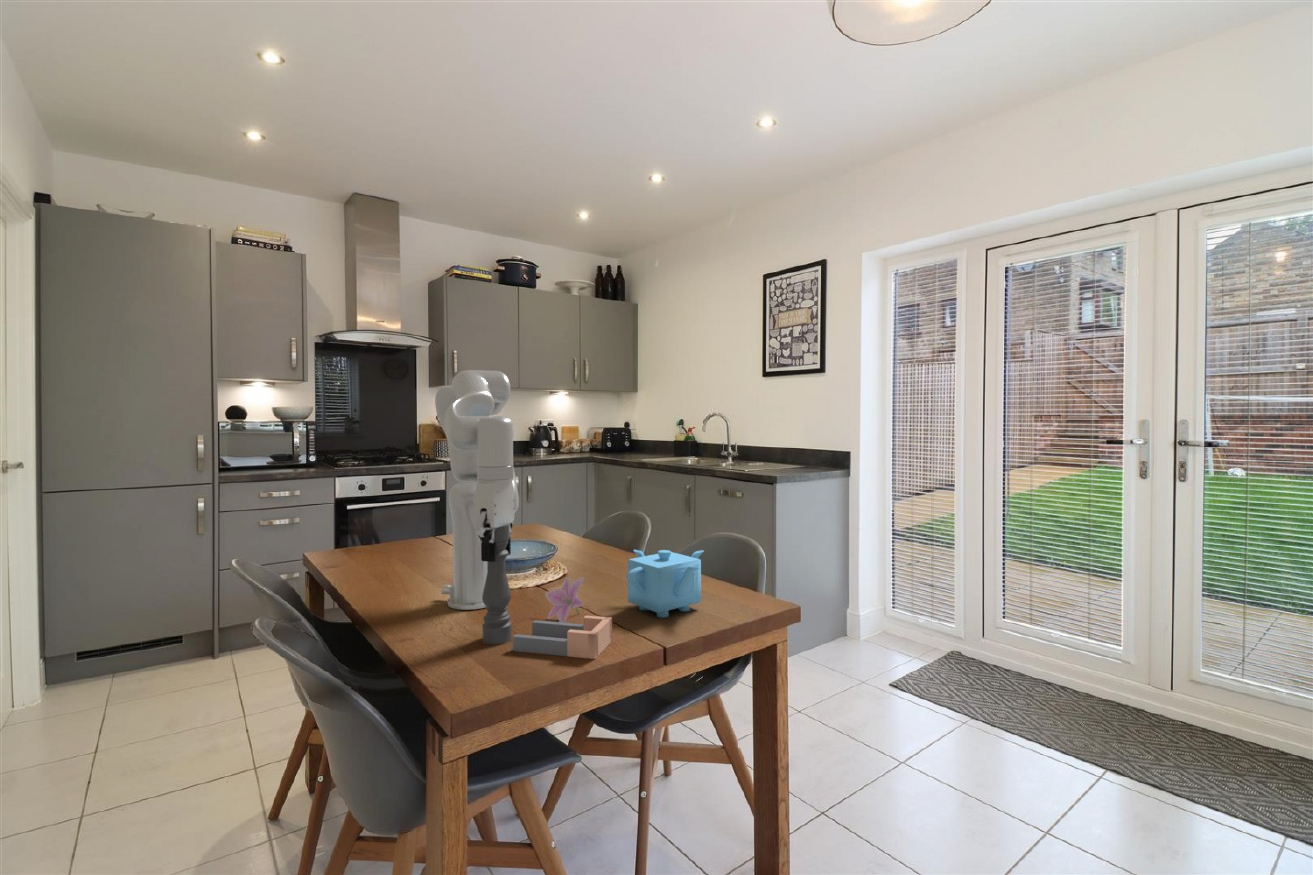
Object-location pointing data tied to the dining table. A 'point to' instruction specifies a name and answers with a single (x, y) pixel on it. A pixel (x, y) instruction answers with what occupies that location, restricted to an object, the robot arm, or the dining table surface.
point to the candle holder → (497, 593)
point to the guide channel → (567, 638)
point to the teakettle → (664, 581)
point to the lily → (564, 599)
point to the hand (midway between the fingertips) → (496, 556)
